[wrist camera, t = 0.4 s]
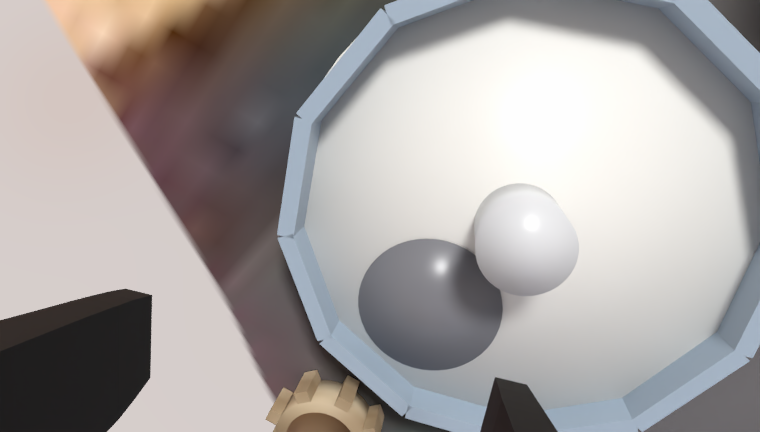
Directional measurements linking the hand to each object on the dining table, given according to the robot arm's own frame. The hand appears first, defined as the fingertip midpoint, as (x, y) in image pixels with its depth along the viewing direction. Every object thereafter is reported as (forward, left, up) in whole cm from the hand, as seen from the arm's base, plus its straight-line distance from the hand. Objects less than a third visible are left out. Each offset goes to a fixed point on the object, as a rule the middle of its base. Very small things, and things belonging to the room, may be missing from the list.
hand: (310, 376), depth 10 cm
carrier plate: (-1, -5, -10) cm, 11 cm away
